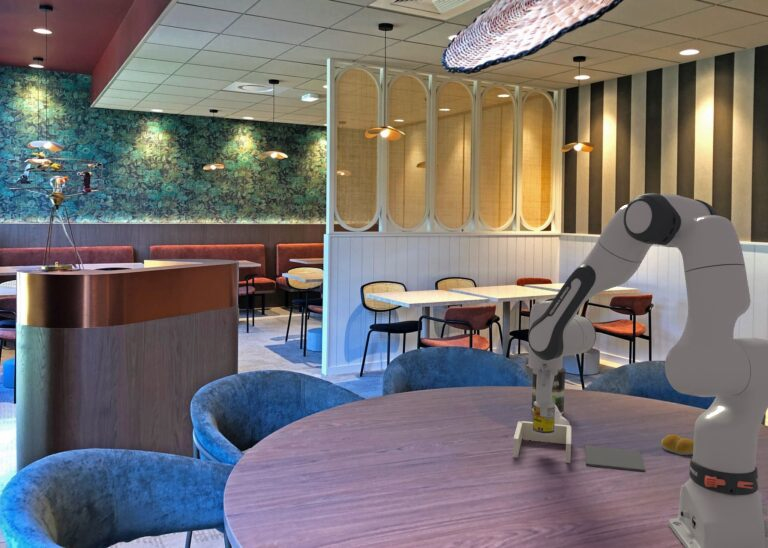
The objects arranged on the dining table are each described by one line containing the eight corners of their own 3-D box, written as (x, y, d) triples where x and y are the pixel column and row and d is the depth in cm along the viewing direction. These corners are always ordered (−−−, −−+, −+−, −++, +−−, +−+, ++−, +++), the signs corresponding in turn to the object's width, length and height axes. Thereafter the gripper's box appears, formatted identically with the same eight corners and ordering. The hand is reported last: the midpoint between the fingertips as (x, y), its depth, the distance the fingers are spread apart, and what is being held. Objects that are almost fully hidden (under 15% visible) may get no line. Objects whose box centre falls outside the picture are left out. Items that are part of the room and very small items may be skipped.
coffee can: (563, 417, 210) (565, 373, 208) (530, 414, 213) (531, 370, 211) (564, 408, 219) (566, 366, 218) (532, 405, 222) (533, 363, 221)
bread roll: (689, 458, 175) (690, 443, 175) (656, 449, 182) (657, 435, 182) (703, 451, 181) (704, 437, 180) (671, 442, 187) (671, 428, 187)
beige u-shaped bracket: (570, 463, 170) (571, 444, 170) (513, 457, 174) (513, 438, 174) (570, 443, 185) (571, 425, 185) (517, 438, 189) (518, 420, 189)
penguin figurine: (546, 394, 203) (577, 408, 193) (543, 421, 204) (574, 436, 194) (531, 397, 199) (562, 411, 190) (528, 424, 201) (559, 439, 191)
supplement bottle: (528, 430, 180) (530, 393, 179) (547, 428, 181) (548, 391, 180) (539, 436, 174) (540, 398, 173) (558, 435, 176) (559, 396, 175)
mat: (645, 471, 165) (645, 469, 165) (586, 465, 169) (586, 463, 169) (639, 452, 179) (639, 450, 178) (585, 447, 182) (585, 445, 182)
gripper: (557, 369, 165) (555, 424, 166) (558, 354, 185) (557, 403, 186) (531, 368, 167) (529, 422, 168) (535, 353, 187) (534, 401, 188)
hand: (544, 412), depth 177 cm, fingers closed on supplement bottle, 5 cm apart
